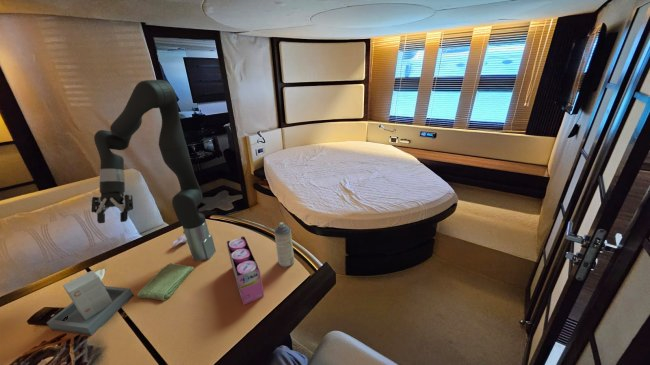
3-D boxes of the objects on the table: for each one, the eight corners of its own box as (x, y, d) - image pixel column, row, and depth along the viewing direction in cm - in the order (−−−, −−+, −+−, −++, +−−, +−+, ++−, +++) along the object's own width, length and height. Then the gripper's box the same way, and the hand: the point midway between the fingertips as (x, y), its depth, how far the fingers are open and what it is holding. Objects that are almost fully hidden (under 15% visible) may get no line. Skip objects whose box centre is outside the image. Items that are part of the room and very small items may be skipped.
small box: (106, 296, 93) (92, 269, 88) (113, 303, 90) (99, 276, 85) (78, 312, 87) (61, 285, 82) (85, 321, 84) (68, 292, 79)
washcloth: (196, 268, 107) (194, 263, 106) (166, 303, 91) (164, 296, 90) (169, 266, 109) (166, 261, 108) (135, 299, 93) (132, 293, 92)
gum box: (231, 265, 108) (225, 239, 102) (249, 259, 111) (244, 233, 106) (243, 305, 88) (236, 276, 83) (264, 296, 92) (259, 267, 86)
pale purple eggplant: (189, 235, 133) (167, 249, 118) (187, 225, 131) (165, 237, 117) (199, 235, 132) (179, 250, 117) (198, 225, 130) (177, 238, 116)
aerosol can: (294, 256, 112) (290, 218, 104) (293, 266, 105) (289, 227, 97) (279, 257, 111) (274, 219, 103) (277, 268, 105) (272, 228, 97)
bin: (133, 295, 94) (130, 288, 93) (91, 335, 80) (87, 328, 79) (98, 291, 97) (94, 284, 96) (51, 329, 82) (46, 322, 81)
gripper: (85, 181, 94) (85, 224, 93) (122, 179, 94) (123, 222, 93) (102, 183, 101) (102, 222, 100) (137, 180, 101) (138, 220, 100)
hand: (112, 222), depth 96 cm, fingers open, 8 cm apart
